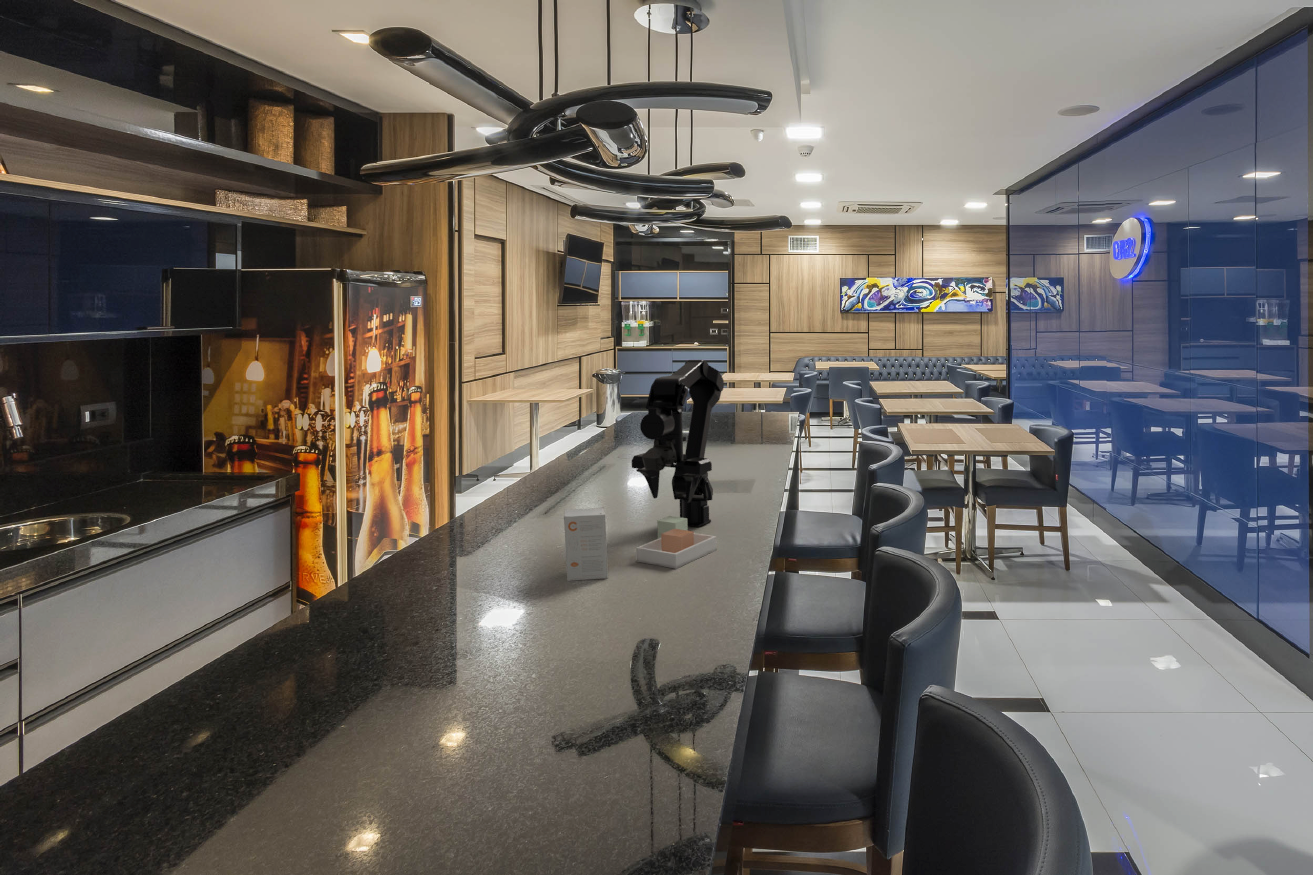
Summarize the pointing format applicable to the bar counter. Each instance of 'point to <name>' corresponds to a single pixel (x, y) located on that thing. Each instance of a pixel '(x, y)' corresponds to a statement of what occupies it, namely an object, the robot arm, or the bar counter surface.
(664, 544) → the brick
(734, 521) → the bar counter surface
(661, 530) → the pale green block
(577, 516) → the small box
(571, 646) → the bar counter surface
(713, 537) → the tote
